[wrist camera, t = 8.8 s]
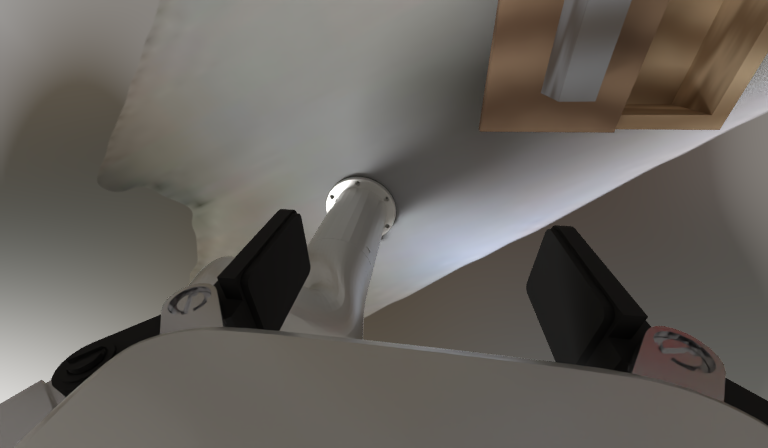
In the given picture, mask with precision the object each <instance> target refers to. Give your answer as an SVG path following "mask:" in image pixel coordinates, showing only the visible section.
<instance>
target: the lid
mask: <svg viewBox="0 0 768 448" xmlns="http://www.w3.org/2000/svg"><path fill="white" fill-rule="evenodd" d="M668 2H669V0H498V7H497V13H496V20H495V26H494V33H493V39H492V46H491V52H490V59H489V65H488V72H487V78H486V85H485V91H484V98H483V104H482V111H481V117H480V124H479V130H480V132H614V131H615V129H616V126H617V124H618V121H619V119H620V117H621V114H622V112H623V110H624V107H625V105H626V102H627V100H628V98H629V95H630V93H631V90H632V88H633V86H634V83H635V81H636V79H637V76H638V74H639V71H640V69H641V67H642V64H643V62H644V59H645V57H646V55H647V52H648V50H649V47H650V45H651V43H652V40H653V38H654V36H655V33H656V31H657V28H658V26H659V24H660V21H661V19H662V16H663V14H664V12H665V9H666V7H667V5H668Z"/></svg>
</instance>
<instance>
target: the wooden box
mask: <svg viewBox="0 0 768 448" xmlns="http://www.w3.org/2000/svg"><path fill="white" fill-rule="evenodd" d="M767 53H768V0H669V2H668V5H667V7H666V9H665V12H664V14H663V16H662V19H661V21H660V24H659V26H658V28H657V31H656V33H655V36H654V38H653V40H652V43H651V45H650V47H649V50H648V52H647V55H646V57H645V59H644V62H643V64H642V67H641V69H640V71H639V74H638V76H637V79H636V81H635V83H634V86H633V88H632V90H631V93H630V95H629V98H628V100H627V102H626V105H625V107H624V110H623V112H622V114H621V117H620V119H619V121H618V124H617V126H616V129H682V130H720V128H721V127H722V125H723V123H724V122H725V120H726V119H727V117H728V115H729V114H730V112H731V111H732V109H733V107H734V106H735V104H736V103H737V101H738V99H739V98H740V96H741V95H742V93H743V91H744V90H745V88H746V87H747V85H748V83H749V82H750V80H751V78H752V77H753V75H754V74H755V72H756V70H757V69H758V67H759V66H760V64H761V62H762V61H763V59H764V58H765V56H766V54H767Z"/></svg>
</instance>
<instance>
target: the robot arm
mask: <svg viewBox="0 0 768 448" xmlns="http://www.w3.org/2000/svg"><path fill="white" fill-rule="evenodd" d="M358 181H359V182H358ZM333 195H334V196H333ZM386 197H388V198H386ZM326 210H327V215H326V217H325V218H324V220H323V221H322V223H321V225H320V226H319V228H318V230H317V231H316V233H315V235H314V236H313V238H312V240H311V241H310V243H309V245H308V246H307V244H306V239H305V234H304V229H303V224H302V219H301V215H300V214H297V212H296V211H295V210H287V209H280V210H279V211H278V212H277V213H276V214H275V215H274V216H273V217H272V218H271V219H270V220H269V221H268V222H267V224H266V225H265V226H264V227H263V228H262V229H261V230H260V231H259V232H258V233H257V234H256V235H255V236H254V238H253V239H252V240H251V241H250V242H249V243H248V244H247V245H246V246H245V247H244V248H243V249H242V251H241V252H240V253H239V254H238V255H237V256H236V257H232V256H228V257H221V258H218V259H216V260H214V261H212V262H211V263H209V264H208V265H207V266H205V267H204V268H203V269H202V270H201V271H200V272H199V273H198V274H197V275H196V277H195V278H194V279H193V280H192V282H191V283H190V284H189V286H187V287H185V288H182V289H180V290H178V291H177V292H175V293H174V294H172V295H171V296H170V297H169V298H168V299H167V300H166V301H165V303H164V304H163V306H162V310H161V315H159V316H156V317H154V318H152V319H149V320H147V321H144V322H142V323H139V324H137V325H135V326H132V327H130V328H128V329H125V330H123V331H120V332H118V333H115V334H113V335H110V336H108V337H105V338H103V339H101V340H98V341H96V342H94V343H91V344H89V345H87V346H85V347H83V348H81V349H80V350H78V351H76V352H75V353H73V354H72V355H71V356H69V357H68V358H67V359H66V360H65V361H64V362H62V363H61V365H60V366H59V367H58V368H57V369H56V371H55V373H54V375H53V376H52V379H51V381H49V382H47V383H45V382H44V381H42V380H41V381H39V382H37V383H35V384H34V385H32V386H30V387H29V388H27V389H25V390H23V391H22V392H20V393H18V394H16V395H15V396H13V397H11V398H10V399H8V400H6V401H5V402H3V403H1V404H0V448H768V401H767V400H765V399H763V398H761V397H759V396H757V395H756V394H754V393H752V392H750V391H748V390H747V389H745V388H743V387H741V386H739V385H738V384H736V383H734V382H732V381H730V380H729V379H727V378H725V374H726V372H725V368H724V364H723V363H722V361H721V360H720V358H719V357H718V356H717V355H716V354H715V353H714V352H713V351H712V350H711V349H710V348H709V347H707V346H706V345H705V344H703V343H702V342H700V341H699V340H697V339H696V338H694V337H692V336H690V335H688V334H686V333H684V332H681V331H679V330H676V329H673V328H669V327H665V326H655V327H651V326H650V325H649V324H648V323H647V322H646V319H647V317H648V316H647V315H646V314H645V313H644V312H643V310H642V309H641V308H640V307H639V305H638V304H637V303H636V302H635V301H634V299H633V298H632V297H631V296H630V295H629V293H628V292H627V291H626V290H625V288H624V287H623V286H622V285H621V284H620V282H619V281H618V280H617V279H616V278H615V276H614V275H613V274H612V273H611V272H610V271H609V269H608V268H607V267H606V266H605V264H604V263H603V262H602V261H601V260H600V259H599V257H598V256H597V255H596V253H594V251H593V250H592V249H591V248H590V246H589V245H588V244H587V243H586V241H585V240H584V239H583V238H582V237H581V235H580V234H579V233H578V232H577V231H576V229H575V228H573V227H571V226H553V227H552V228H551V229H548V230H547V231H546V232H545V235H544V238H543V240H542V243H541V246H540V249H539V252H538V254H537V257H536V260H535V262H534V265H533V268H532V271H531V273H530V276H529V279H528V282H527V286H526V289H527V294H528V296H529V298H530V301H531V303H532V306H533V308H534V310H535V313H536V315H537V318H538V320H539V323H540V325H541V327H542V330H543V332H544V335H545V337H546V340H547V342H548V344H549V346H550V349H551V352H552V354H553V356H554V359H555V361H556V362H551V361H544V360H535V359H526V358H518V357H509V356H501V355H493V354H484V353H475V352H467V351H459V350H449V349H441V348H432V347H423V346H415V345H406V344H397V343H388V342H379V341H369V340H363V319H364V308H365V301H366V296H367V292H368V287H369V283H370V279H371V276H372V272H373V268H374V264H375V260H376V256H377V252H378V248H379V245H380V241H381V237H382V236H383V235H384V234H386V233H387V232H388V231H389V230H390V229H391V227H392V226H393V224H394V221H395V217H396V206H395V202H394V200H393V197H392V196H391V194H390V193H389V191H388V190H387V189H386V188H385V187H384V186H382V185H381V184H380V183H378V182H376V181H374V180H372V179H369V178H365V177H350V178H346V179H343V180H342V181H340V182H338V183H337V184H336V185H335V186H334V187H333V188H332V189H331V191H330V192H329V194H328V197H327V200H326Z"/></svg>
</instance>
